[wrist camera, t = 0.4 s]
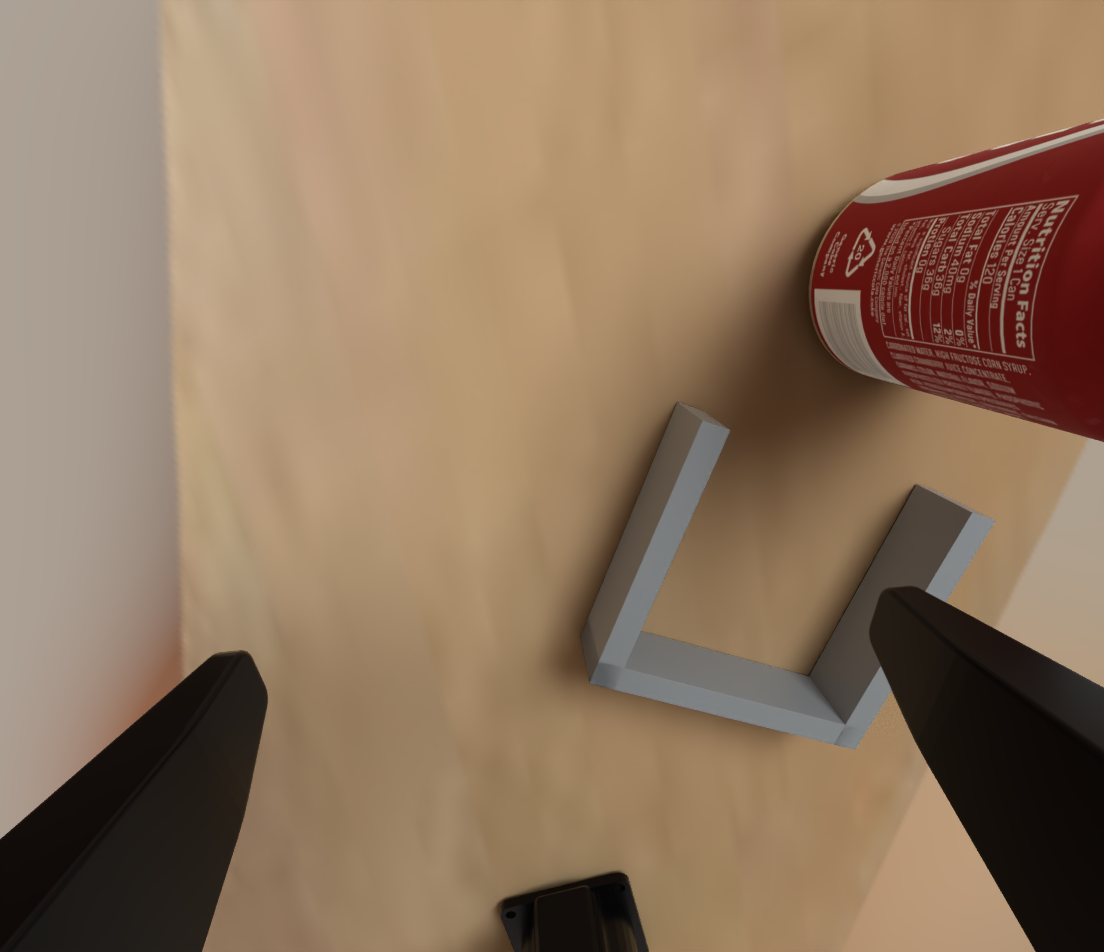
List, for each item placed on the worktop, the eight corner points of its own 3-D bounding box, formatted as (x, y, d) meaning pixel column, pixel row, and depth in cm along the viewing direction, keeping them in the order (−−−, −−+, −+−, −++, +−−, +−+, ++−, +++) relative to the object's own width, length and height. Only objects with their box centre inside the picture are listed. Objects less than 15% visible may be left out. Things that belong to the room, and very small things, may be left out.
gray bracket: (818, 699, 27) (854, 749, 24) (580, 636, 25) (589, 683, 22) (937, 491, 24) (995, 520, 21) (677, 401, 22) (702, 420, 19)
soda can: (826, 404, 22) (1158, 537, 11) (775, 225, 20) (1123, 159, 9) (999, 328, 22) (1537, 385, 10) (967, 137, 20) (1602, -57, 8)
